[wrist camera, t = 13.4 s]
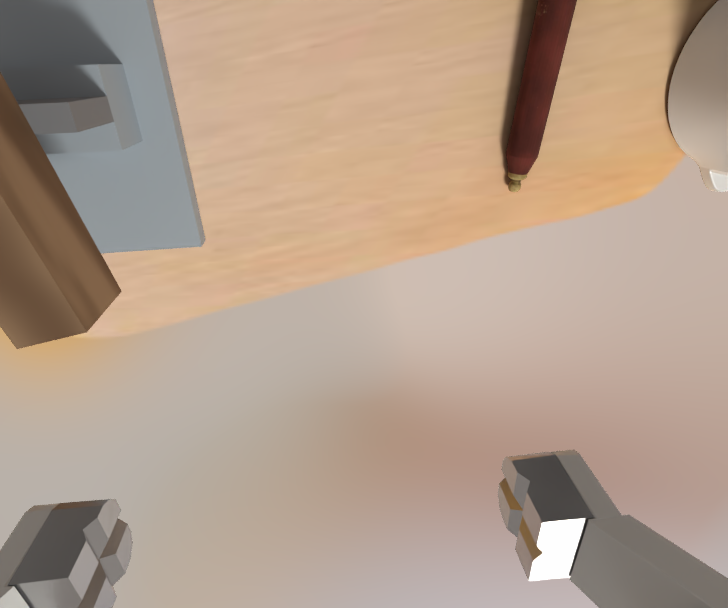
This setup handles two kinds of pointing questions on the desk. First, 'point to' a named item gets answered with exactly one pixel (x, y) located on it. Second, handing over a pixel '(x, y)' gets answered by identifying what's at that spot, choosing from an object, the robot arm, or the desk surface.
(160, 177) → the ridge stand
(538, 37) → the gavel
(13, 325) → the bar
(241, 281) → the desk surface
